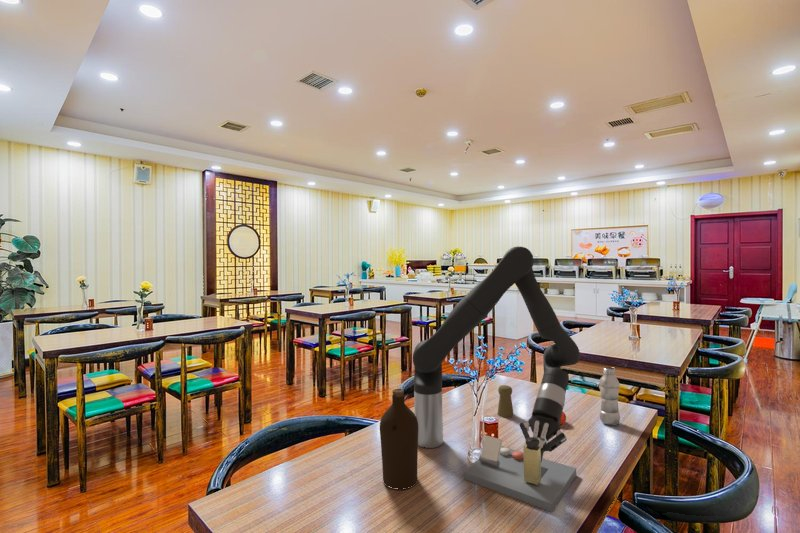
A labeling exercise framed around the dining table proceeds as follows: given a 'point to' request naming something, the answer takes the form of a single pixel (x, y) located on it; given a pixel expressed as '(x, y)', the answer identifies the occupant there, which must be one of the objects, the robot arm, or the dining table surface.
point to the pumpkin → (563, 418)
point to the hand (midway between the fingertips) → (534, 463)
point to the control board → (512, 479)
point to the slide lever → (532, 461)
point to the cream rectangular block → (491, 451)
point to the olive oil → (399, 443)
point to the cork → (505, 401)
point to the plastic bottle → (609, 397)
